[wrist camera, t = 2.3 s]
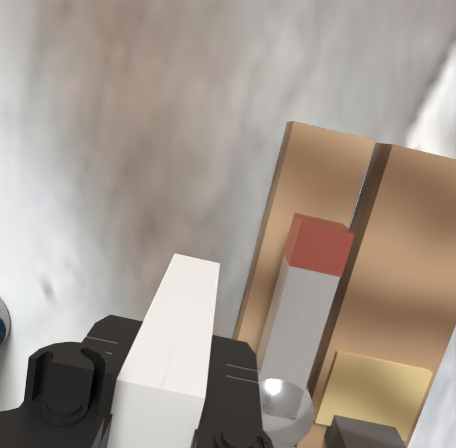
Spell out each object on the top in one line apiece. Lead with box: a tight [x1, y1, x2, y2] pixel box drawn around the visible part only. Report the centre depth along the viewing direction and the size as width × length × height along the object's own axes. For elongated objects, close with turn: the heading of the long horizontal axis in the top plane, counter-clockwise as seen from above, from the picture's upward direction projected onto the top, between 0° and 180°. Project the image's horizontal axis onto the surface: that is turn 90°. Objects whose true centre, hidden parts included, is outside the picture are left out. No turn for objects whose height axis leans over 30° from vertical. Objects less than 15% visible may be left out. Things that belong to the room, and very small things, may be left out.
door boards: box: [233, 121, 456, 448], centre depth 23 cm, size 20×12×6 cm, turn 167°
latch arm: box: [256, 213, 355, 448], centre depth 21 cm, size 13×4×2 cm, turn 167°
